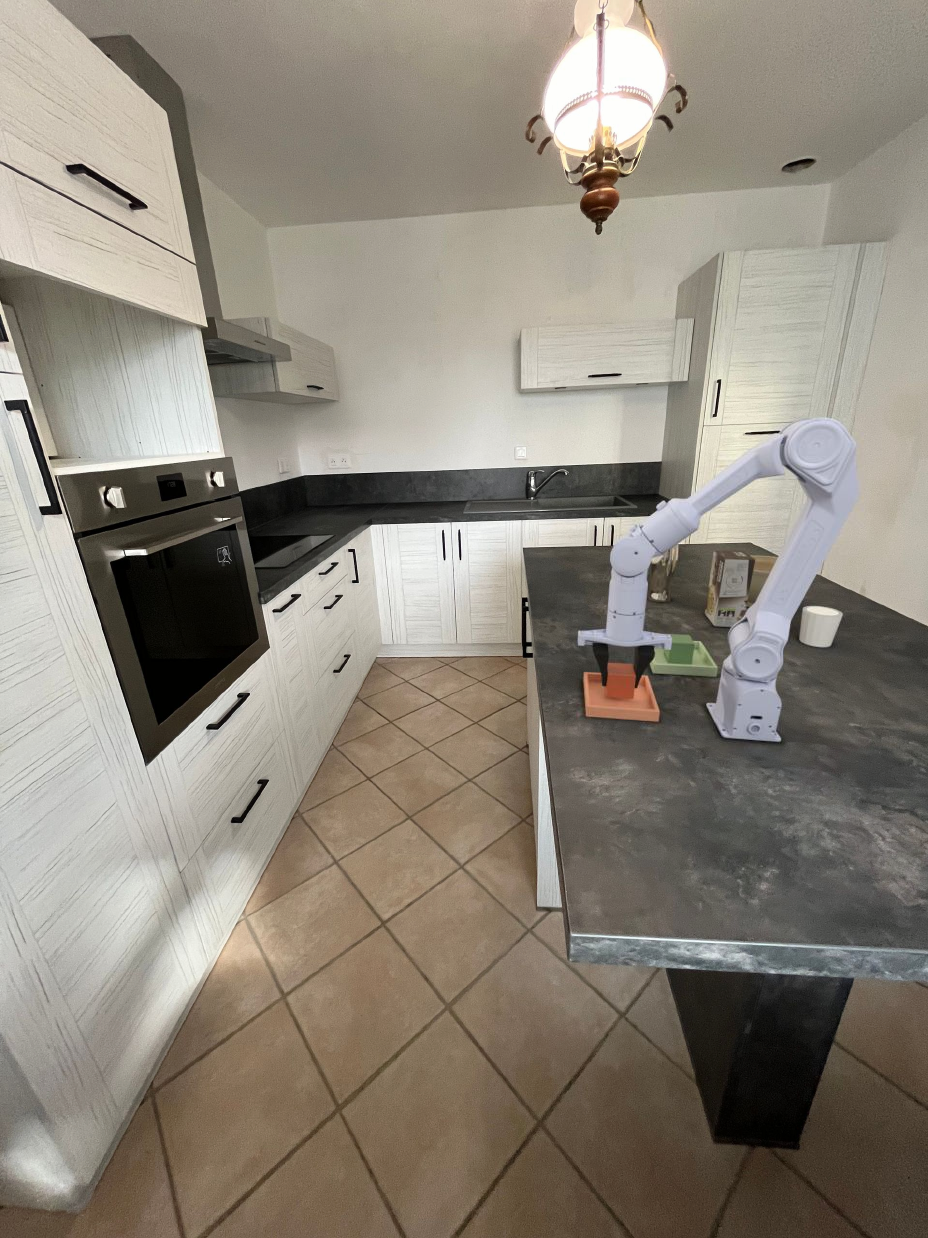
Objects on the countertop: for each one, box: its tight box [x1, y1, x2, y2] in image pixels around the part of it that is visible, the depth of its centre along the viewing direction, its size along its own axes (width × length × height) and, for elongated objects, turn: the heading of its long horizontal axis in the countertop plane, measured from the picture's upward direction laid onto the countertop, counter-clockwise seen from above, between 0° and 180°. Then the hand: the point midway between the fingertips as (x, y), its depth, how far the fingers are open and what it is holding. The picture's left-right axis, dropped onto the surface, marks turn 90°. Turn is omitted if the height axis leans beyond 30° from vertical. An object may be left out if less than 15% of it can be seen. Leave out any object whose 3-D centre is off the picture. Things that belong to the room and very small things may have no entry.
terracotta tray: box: [583, 671, 660, 723], centre depth 83 cm, size 12×11×2 cm
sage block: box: [664, 633, 695, 664], centre depth 96 cm, size 4×4×4 cm
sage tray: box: [649, 640, 719, 678], centre depth 96 cm, size 12×11×2 cm
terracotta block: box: [605, 662, 636, 699], centre depth 82 cm, size 4×4×4 cm
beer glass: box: [646, 543, 680, 603], centre depth 129 cm, size 7×7×15 cm
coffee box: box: [704, 549, 756, 628], centre depth 113 cm, size 9×6×16 cm
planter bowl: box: [746, 555, 779, 608], centre depth 123 cm, size 16×16×11 cm
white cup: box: [798, 605, 844, 648], centre depth 102 cm, size 7×7×7 cm
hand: (619, 684), depth 83 cm, fingers closed on terracotta block, 4 cm apart
